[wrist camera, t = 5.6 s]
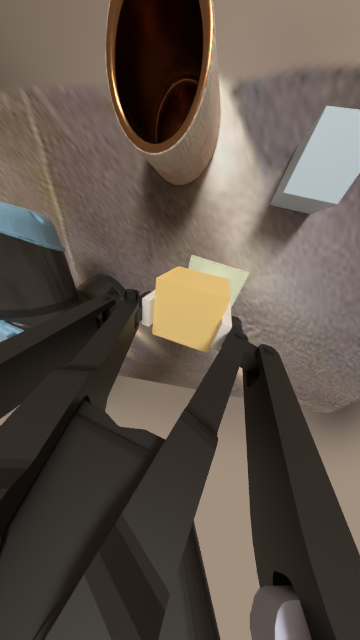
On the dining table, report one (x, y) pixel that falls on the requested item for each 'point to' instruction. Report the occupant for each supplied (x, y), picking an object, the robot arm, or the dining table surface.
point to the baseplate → (221, 273)
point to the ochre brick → (190, 306)
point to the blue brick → (322, 163)
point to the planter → (165, 82)
